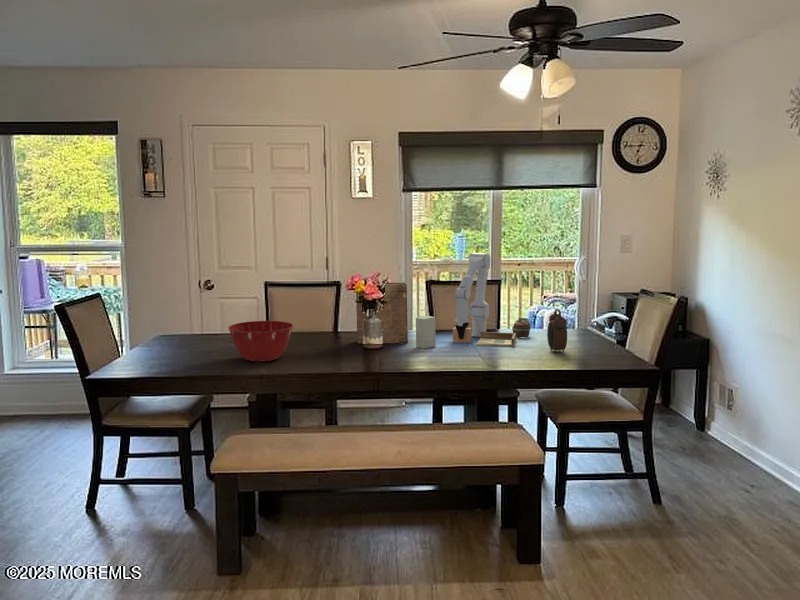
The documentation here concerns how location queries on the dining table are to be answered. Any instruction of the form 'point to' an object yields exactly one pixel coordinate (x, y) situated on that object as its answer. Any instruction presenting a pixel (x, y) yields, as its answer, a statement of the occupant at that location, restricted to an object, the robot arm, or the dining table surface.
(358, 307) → the brown upright rectangular box
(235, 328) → the mixing bowl
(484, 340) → the wooden tray
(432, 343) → the skincare box
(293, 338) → the dining table surface
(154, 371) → the dining table surface
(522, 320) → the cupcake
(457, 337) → the block
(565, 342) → the brown backpack
